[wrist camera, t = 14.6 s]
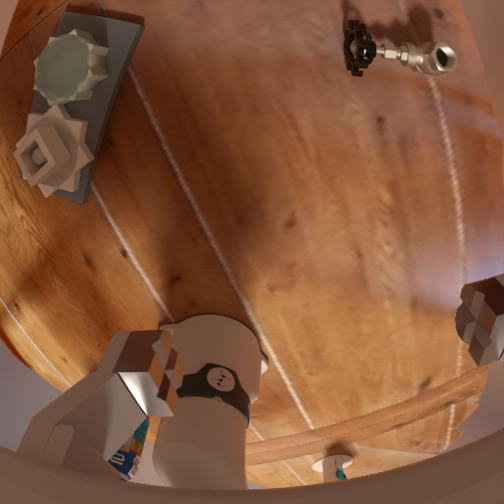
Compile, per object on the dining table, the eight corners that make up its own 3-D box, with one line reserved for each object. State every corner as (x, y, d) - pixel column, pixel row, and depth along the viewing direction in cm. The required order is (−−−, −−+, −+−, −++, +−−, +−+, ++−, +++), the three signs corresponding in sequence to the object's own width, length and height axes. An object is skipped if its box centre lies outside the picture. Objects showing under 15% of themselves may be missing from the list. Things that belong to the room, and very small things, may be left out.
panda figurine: (357, 463, 72) (365, 507, 59) (321, 474, 75) (325, 517, 62) (345, 450, 68) (353, 500, 54) (305, 463, 71) (308, 511, 57)
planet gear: (112, 162, 35) (94, 172, 31) (50, 211, 38) (31, 226, 34) (66, 81, 30) (43, 82, 26) (9, 140, 33) (-13, 148, 29)
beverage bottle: (140, 429, 65) (122, 500, 47) (110, 413, 62) (86, 484, 44) (157, 419, 62) (138, 496, 44) (124, 401, 59) (98, 479, 41)
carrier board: (87, 201, 39) (67, 216, 34) (24, 175, 37) (1, 186, 32) (144, 26, 29) (127, 17, 24) (69, 13, 27) (46, 6, 22)
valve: (431, 39, 28) (341, 25, 29) (458, 33, 22) (357, 13, 23) (433, 87, 31) (344, 77, 32) (461, 89, 25) (362, 74, 26)
